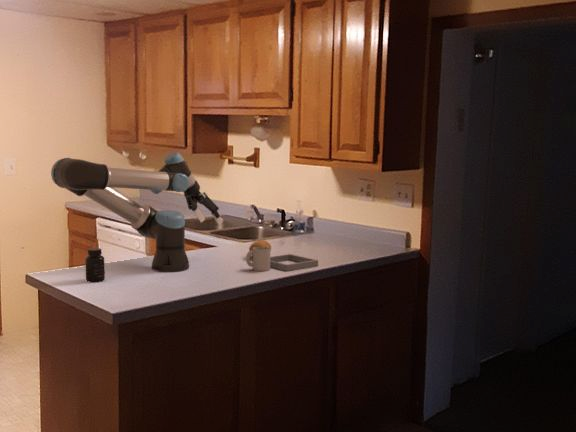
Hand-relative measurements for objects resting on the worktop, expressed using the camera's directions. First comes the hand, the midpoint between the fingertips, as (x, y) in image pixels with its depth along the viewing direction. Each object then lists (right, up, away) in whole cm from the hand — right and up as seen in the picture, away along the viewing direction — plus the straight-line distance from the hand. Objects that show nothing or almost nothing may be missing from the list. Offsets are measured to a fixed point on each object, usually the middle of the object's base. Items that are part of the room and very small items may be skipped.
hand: (211, 221), depth 296 cm
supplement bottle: (-38, -22, -51) cm, 67 cm away
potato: (+22, -16, -1) cm, 27 cm away
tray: (+35, -18, -16) cm, 43 cm away
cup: (+22, -20, -26) cm, 40 cm away
